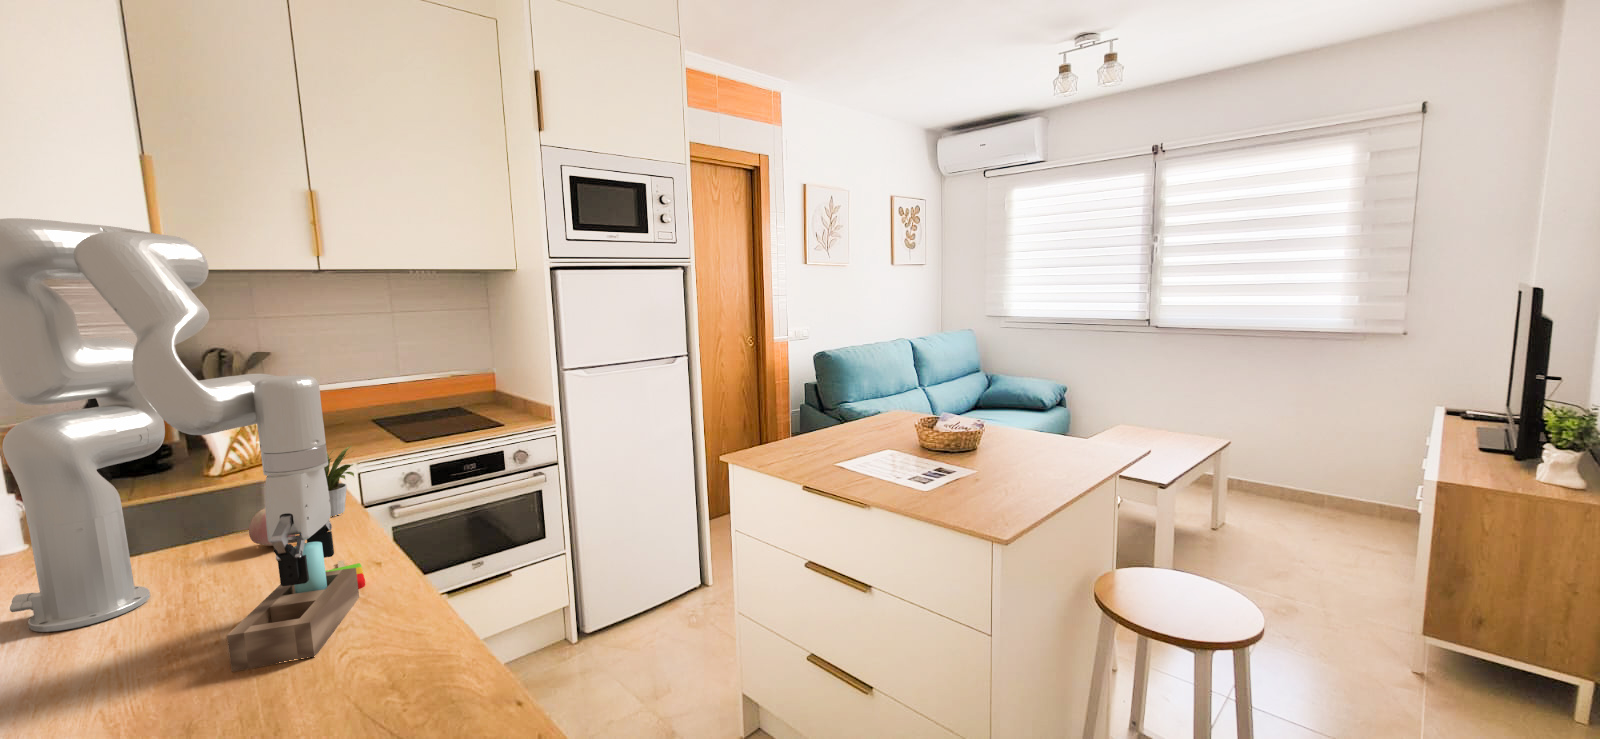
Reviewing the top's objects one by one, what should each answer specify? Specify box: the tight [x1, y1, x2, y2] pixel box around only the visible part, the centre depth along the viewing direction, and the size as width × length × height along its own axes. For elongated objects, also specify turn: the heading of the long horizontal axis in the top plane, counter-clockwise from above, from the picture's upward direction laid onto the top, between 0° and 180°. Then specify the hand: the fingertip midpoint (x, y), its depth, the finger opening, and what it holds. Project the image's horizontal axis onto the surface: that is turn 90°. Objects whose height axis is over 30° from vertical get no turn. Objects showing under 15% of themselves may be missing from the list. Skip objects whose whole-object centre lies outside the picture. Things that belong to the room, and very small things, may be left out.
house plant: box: [324, 445, 356, 516], centre depth 139 cm, size 14×14×16 cm
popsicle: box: [325, 559, 366, 590], centre depth 109 cm, size 6×15×2 cm, turn 39°
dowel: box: [293, 542, 327, 594], centre depth 95 cm, size 4×4×11 cm
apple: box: [248, 507, 296, 547], centre depth 123 cm, size 8×8×8 cm
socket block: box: [226, 568, 360, 673], centre depth 91 cm, size 9×18×5 cm, turn 19°
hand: (309, 570), depth 95 cm, fingers open, 9 cm apart
